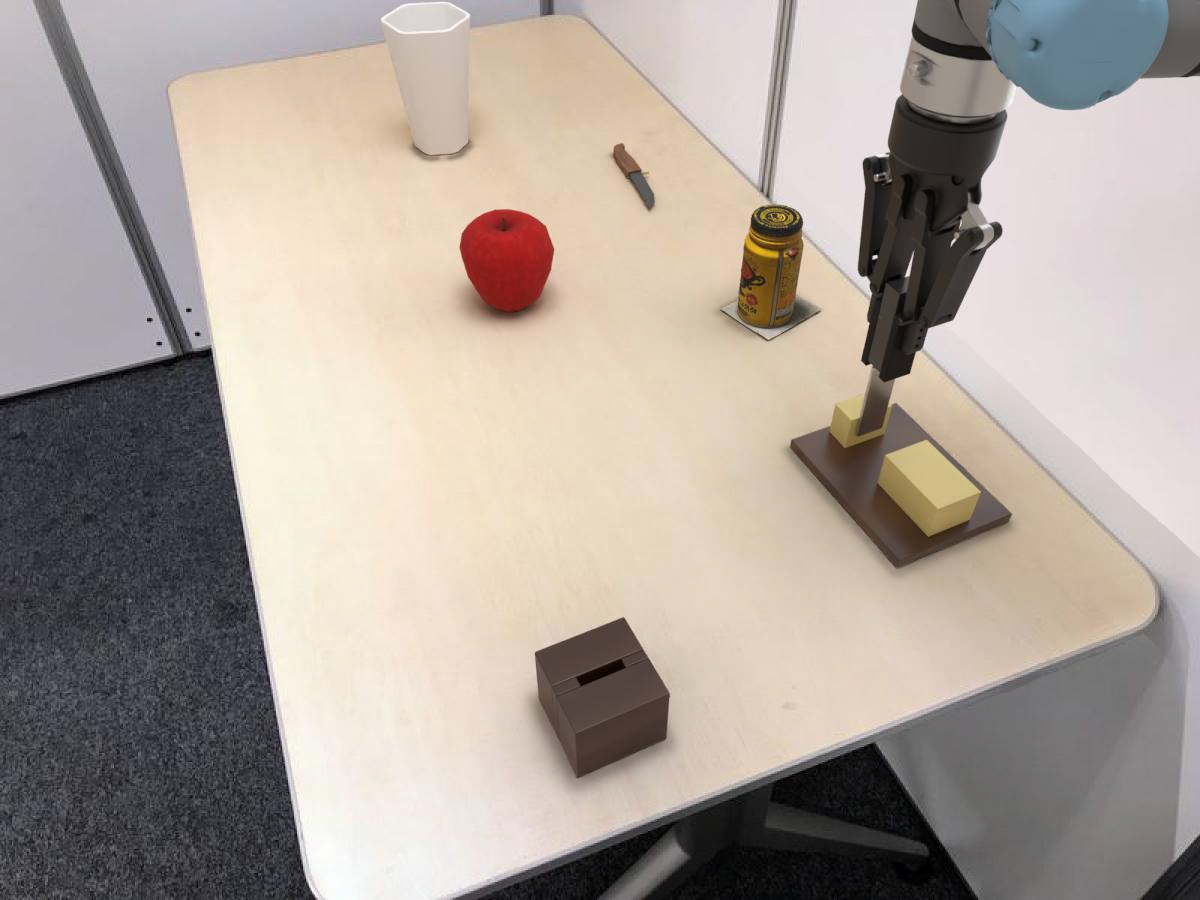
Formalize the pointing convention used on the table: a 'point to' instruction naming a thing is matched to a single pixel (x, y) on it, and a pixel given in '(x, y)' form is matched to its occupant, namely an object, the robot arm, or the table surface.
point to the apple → (507, 258)
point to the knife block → (602, 696)
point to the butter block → (928, 487)
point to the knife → (633, 173)
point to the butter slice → (852, 422)
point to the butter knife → (881, 359)
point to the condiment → (771, 273)
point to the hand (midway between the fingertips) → (885, 366)
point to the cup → (432, 72)
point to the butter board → (867, 501)
